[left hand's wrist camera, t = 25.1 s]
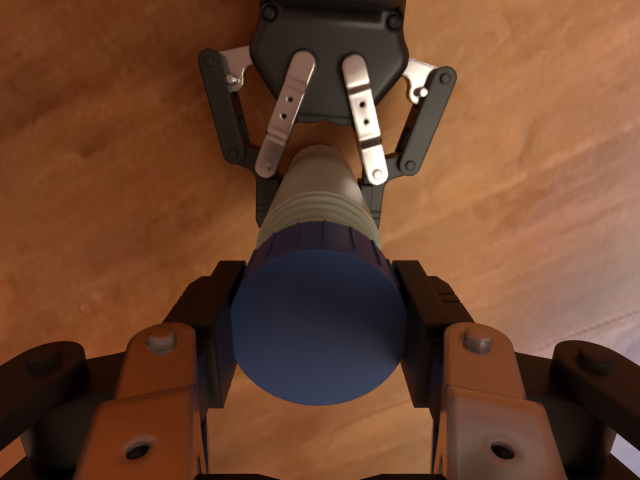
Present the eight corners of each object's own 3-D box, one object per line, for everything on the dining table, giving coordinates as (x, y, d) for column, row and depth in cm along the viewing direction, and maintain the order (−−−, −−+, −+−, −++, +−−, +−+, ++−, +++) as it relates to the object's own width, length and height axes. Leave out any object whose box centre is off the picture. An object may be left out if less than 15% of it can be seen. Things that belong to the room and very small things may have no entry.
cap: (220, 239, 11) (197, 272, 9) (377, 200, 11) (392, 225, 9) (267, 367, 13) (256, 421, 11) (407, 337, 12) (425, 387, 10)
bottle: (289, 207, 30) (237, 392, 11) (286, 145, 28) (218, 236, 9) (350, 206, 30) (403, 389, 11) (351, 143, 28) (413, 231, 9)
